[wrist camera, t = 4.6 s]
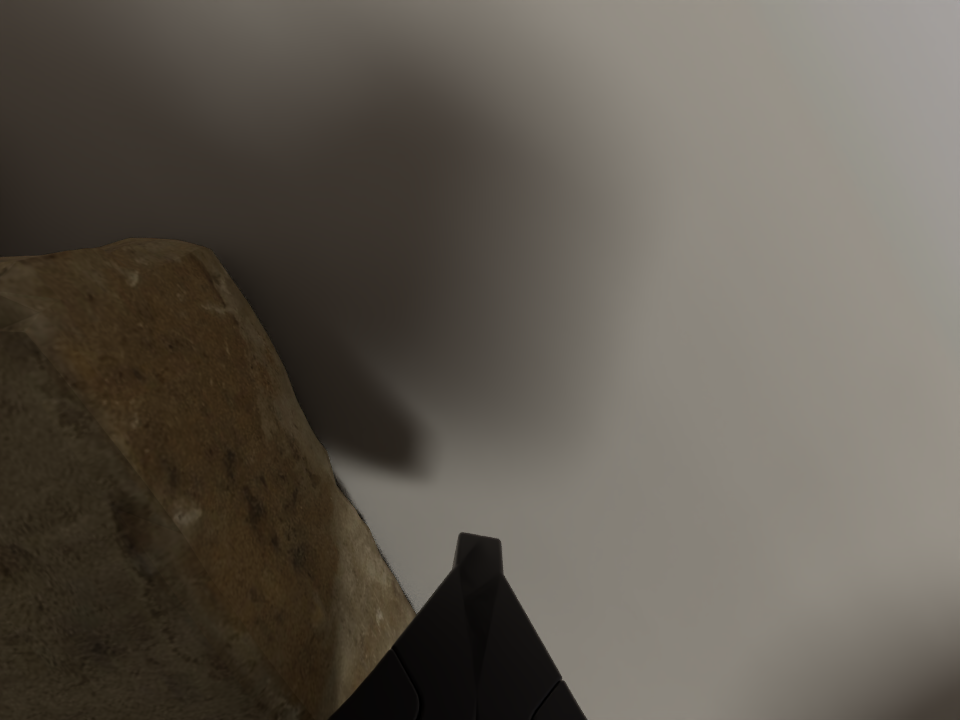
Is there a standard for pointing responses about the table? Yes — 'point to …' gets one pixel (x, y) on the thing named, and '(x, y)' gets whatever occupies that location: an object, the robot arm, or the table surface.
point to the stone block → (169, 504)
